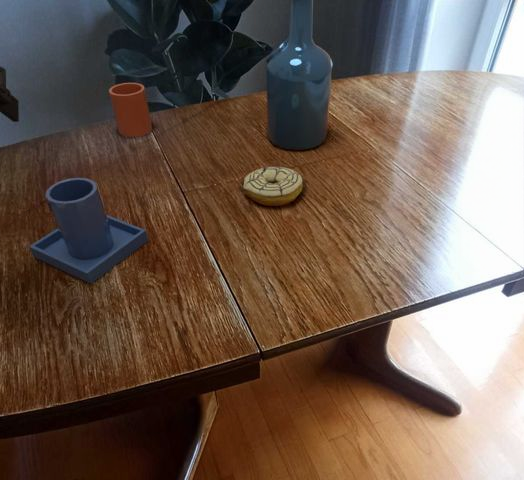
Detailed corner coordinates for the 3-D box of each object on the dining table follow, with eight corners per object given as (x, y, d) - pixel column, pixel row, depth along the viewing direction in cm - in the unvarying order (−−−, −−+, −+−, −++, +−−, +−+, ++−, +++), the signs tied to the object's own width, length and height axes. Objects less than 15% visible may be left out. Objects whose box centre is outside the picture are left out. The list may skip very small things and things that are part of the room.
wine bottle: (335, 132, 105) (352, -39, 82) (312, 157, 97) (324, -25, 75) (281, 122, 109) (283, -43, 87) (255, 145, 101) (249, -30, 79)
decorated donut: (262, 176, 92) (261, 157, 89) (310, 188, 88) (312, 169, 86) (234, 200, 86) (233, 181, 83) (285, 215, 82) (286, 195, 80)
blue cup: (58, 250, 76) (34, 194, 68) (91, 228, 80) (73, 173, 72) (90, 265, 73) (69, 208, 65) (123, 241, 77) (107, 185, 70)
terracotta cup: (113, 139, 105) (101, 91, 97) (136, 127, 109) (126, 80, 101) (138, 146, 102) (127, 98, 94) (160, 134, 106) (151, 86, 99)
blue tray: (33, 257, 76) (28, 246, 74) (93, 218, 83) (89, 208, 81) (90, 284, 71) (86, 273, 69) (148, 240, 78) (146, 229, 76)
